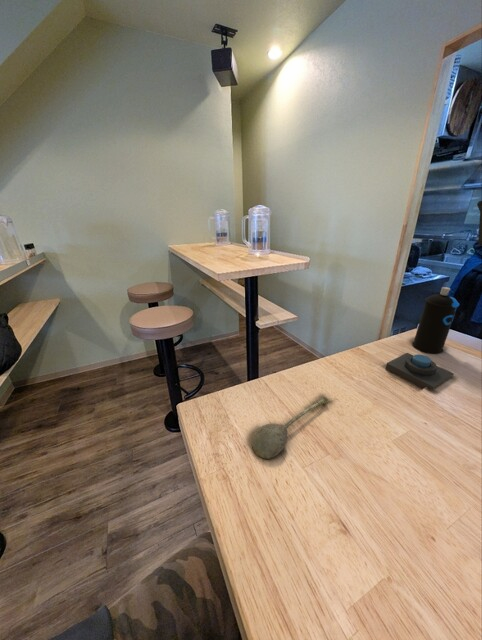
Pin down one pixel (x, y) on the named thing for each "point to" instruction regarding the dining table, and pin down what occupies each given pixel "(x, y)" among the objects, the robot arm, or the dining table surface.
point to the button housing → (418, 372)
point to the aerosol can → (435, 322)
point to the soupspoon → (275, 435)
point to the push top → (421, 360)
